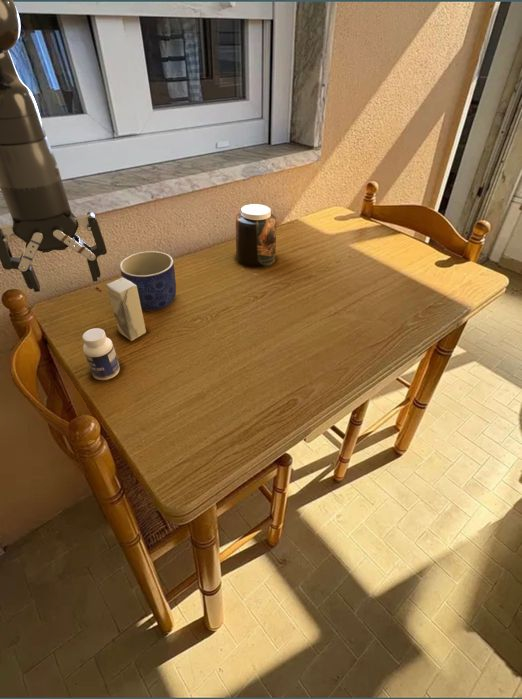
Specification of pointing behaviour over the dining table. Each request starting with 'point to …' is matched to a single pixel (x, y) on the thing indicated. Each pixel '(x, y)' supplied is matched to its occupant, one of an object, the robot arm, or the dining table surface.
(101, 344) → the pill bottle
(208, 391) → the dining table surface
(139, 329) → the box
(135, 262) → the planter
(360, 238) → the dining table surface
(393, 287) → the dining table surface
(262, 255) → the jar
